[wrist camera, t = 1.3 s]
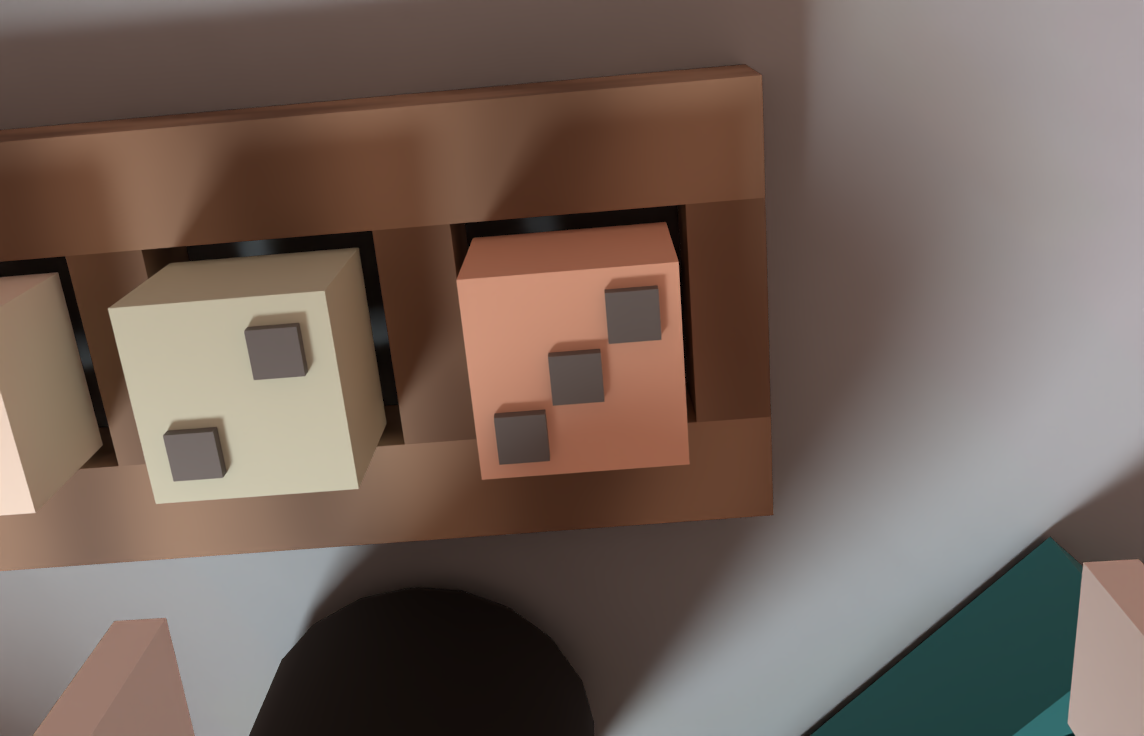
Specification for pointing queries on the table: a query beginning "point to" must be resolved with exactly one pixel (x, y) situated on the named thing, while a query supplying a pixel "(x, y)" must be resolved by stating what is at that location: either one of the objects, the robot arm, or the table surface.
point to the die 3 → (575, 350)
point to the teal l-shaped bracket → (985, 663)
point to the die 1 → (40, 394)
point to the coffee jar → (425, 673)
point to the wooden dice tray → (408, 292)
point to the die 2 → (252, 375)
